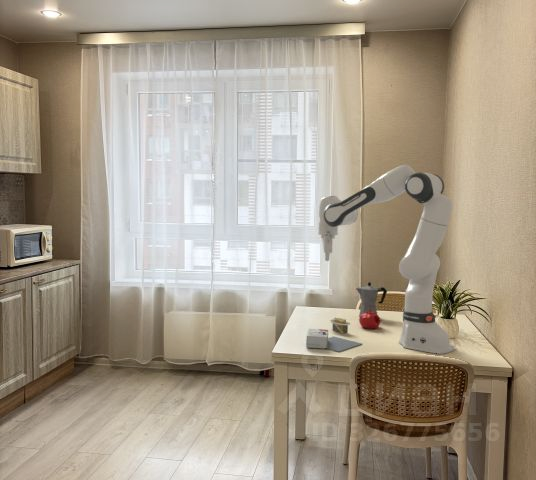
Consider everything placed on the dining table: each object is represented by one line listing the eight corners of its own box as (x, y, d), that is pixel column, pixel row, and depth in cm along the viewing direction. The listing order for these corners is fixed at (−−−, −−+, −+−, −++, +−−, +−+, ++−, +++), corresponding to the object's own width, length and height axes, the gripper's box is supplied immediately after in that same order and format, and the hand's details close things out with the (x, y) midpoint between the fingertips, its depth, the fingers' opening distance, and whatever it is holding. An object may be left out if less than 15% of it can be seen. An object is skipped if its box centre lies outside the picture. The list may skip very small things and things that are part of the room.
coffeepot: (356, 319, 274) (357, 283, 272) (354, 314, 283) (355, 280, 281) (387, 320, 273) (388, 284, 271) (384, 315, 282) (385, 281, 280)
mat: (362, 344, 230) (362, 343, 230) (338, 352, 219) (338, 351, 218) (333, 337, 240) (333, 336, 240) (310, 344, 229) (310, 343, 229)
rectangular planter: (349, 339, 239) (349, 324, 238) (314, 331, 250) (315, 317, 250) (362, 333, 248) (363, 319, 248) (329, 326, 260) (329, 313, 259)
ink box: (328, 329, 233) (327, 337, 222) (327, 340, 234) (327, 348, 222) (308, 328, 234) (306, 335, 223) (307, 339, 235) (306, 347, 223)
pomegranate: (358, 329, 255) (358, 310, 254) (359, 324, 264) (360, 305, 263) (380, 331, 252) (380, 311, 251) (380, 325, 262) (381, 306, 261)
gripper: (335, 233, 245) (334, 263, 246) (334, 229, 265) (333, 257, 267) (321, 232, 246) (320, 263, 247) (320, 229, 266) (320, 257, 267)
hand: (327, 260), depth 257 cm, fingers closed
